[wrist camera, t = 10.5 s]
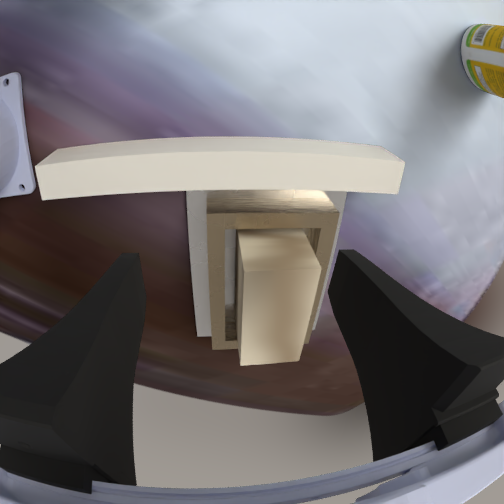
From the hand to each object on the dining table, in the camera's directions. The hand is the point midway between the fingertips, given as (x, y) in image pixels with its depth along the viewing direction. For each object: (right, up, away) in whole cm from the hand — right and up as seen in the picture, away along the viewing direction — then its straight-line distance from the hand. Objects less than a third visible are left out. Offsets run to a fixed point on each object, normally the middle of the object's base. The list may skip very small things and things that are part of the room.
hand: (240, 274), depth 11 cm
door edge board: (-1, +6, +6) cm, 9 cm away
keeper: (+1, -1, +11) cm, 11 cm away
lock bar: (+1, -1, +11) cm, 11 cm away
